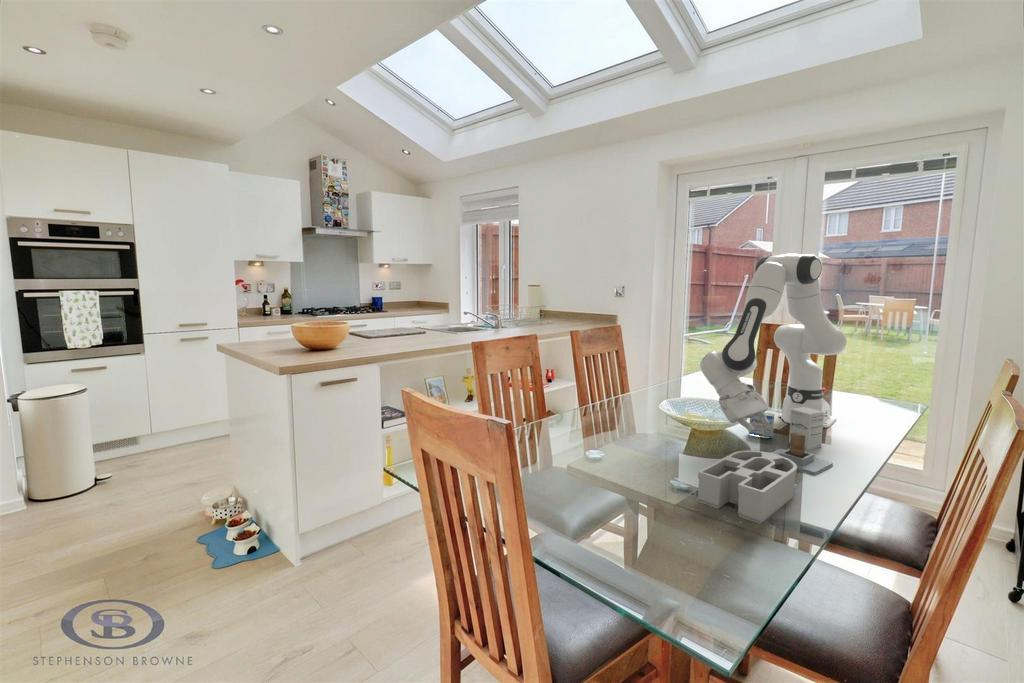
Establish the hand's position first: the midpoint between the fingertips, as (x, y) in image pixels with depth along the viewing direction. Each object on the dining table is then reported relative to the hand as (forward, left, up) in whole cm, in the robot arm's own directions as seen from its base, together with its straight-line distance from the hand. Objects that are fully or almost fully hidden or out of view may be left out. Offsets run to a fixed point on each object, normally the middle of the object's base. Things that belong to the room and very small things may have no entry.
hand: (759, 427), depth 164 cm
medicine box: (-16, -8, -9) cm, 20 cm away
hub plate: (0, +12, -8) cm, 15 cm away
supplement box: (-19, +6, -9) cm, 22 cm away
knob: (0, +12, -7) cm, 14 cm away
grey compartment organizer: (+34, +16, -9) cm, 39 cm away
